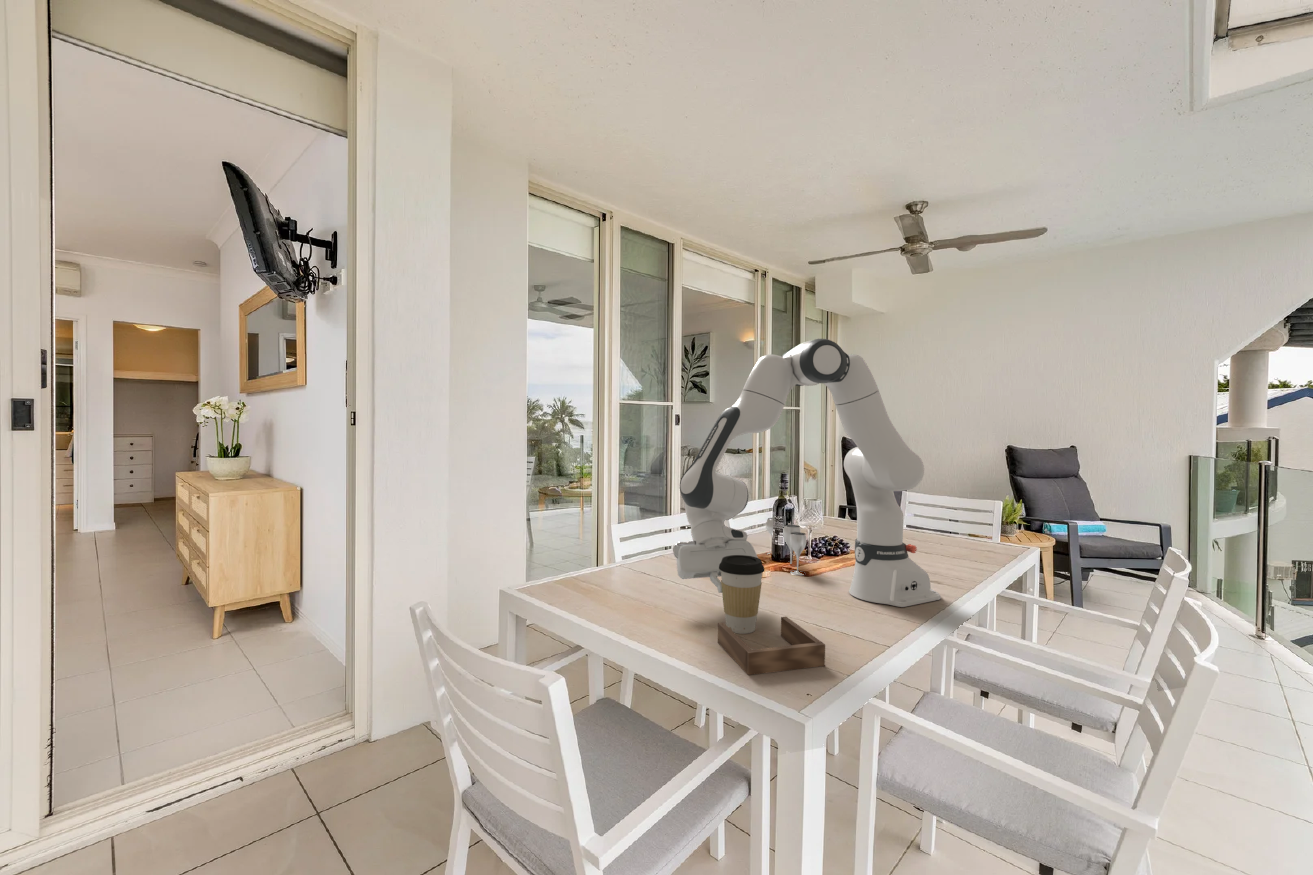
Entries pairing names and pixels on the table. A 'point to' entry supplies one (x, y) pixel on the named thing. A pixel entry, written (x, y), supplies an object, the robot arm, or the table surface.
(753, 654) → the walnut caddy
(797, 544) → the goblet set
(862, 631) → the table surface
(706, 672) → the table surface
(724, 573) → the coffee cup
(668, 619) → the table surface
